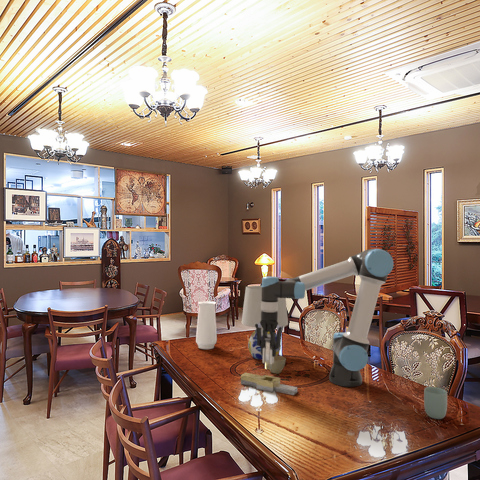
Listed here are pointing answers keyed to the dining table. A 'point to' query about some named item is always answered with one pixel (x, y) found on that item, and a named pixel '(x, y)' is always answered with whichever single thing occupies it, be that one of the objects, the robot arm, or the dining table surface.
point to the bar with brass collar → (267, 383)
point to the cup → (435, 402)
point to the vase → (206, 325)
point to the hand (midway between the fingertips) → (268, 362)
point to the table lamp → (254, 316)
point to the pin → (267, 352)
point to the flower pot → (278, 364)
